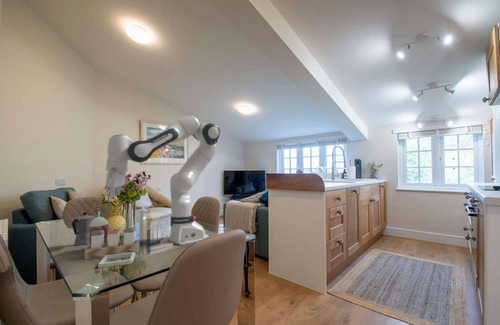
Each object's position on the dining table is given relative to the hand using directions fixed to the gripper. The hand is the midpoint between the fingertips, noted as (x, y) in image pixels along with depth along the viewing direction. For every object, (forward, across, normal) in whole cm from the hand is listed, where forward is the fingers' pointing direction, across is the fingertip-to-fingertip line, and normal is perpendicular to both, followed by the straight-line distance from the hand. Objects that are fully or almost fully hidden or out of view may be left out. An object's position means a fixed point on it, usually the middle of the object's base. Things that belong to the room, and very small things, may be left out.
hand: (114, 196), depth 110 cm
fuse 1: (+27, -3, +5) cm, 27 cm away
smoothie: (+29, +8, +7) cm, 31 cm away
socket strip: (+28, -3, -2) cm, 28 cm away
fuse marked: (+26, -3, -2) cm, 27 cm away
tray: (+28, -14, -6) cm, 32 cm away
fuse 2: (+26, -3, -8) cm, 28 cm away
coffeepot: (+29, +22, +18) cm, 41 cm away
